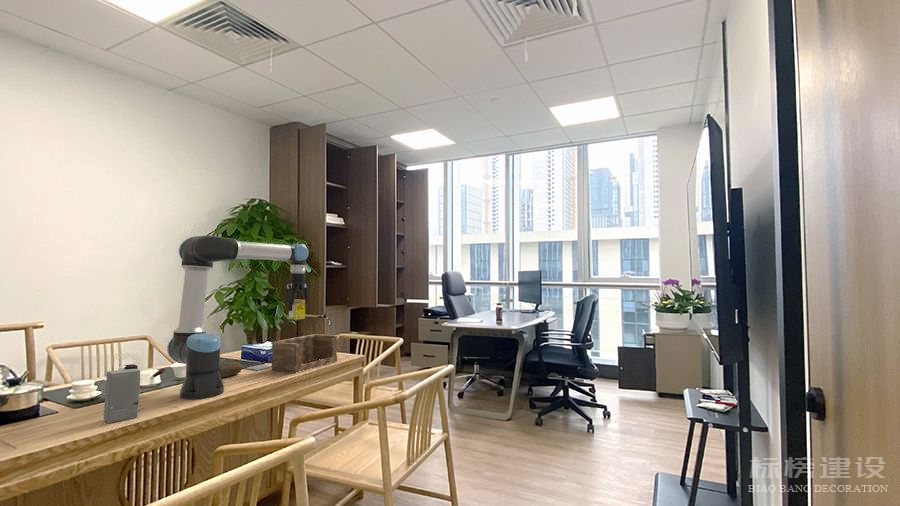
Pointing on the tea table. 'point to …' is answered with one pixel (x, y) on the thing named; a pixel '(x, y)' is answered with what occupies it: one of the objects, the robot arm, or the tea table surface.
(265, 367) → the pad
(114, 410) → the skincare box
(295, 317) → the supplement box
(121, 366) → the medicine bottle
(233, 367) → the stone weight
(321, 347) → the crate
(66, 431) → the tea table surface
